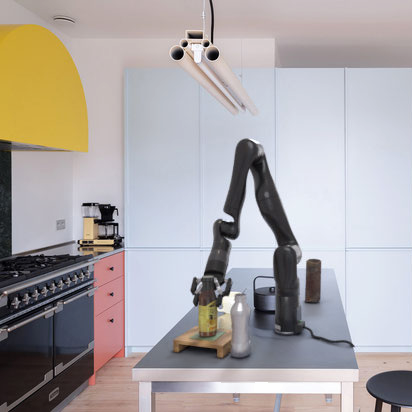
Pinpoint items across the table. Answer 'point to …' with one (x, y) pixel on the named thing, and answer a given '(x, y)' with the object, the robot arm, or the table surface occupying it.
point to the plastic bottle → (240, 327)
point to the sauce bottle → (207, 308)
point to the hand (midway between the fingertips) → (206, 305)
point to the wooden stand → (205, 341)
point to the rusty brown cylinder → (313, 280)
